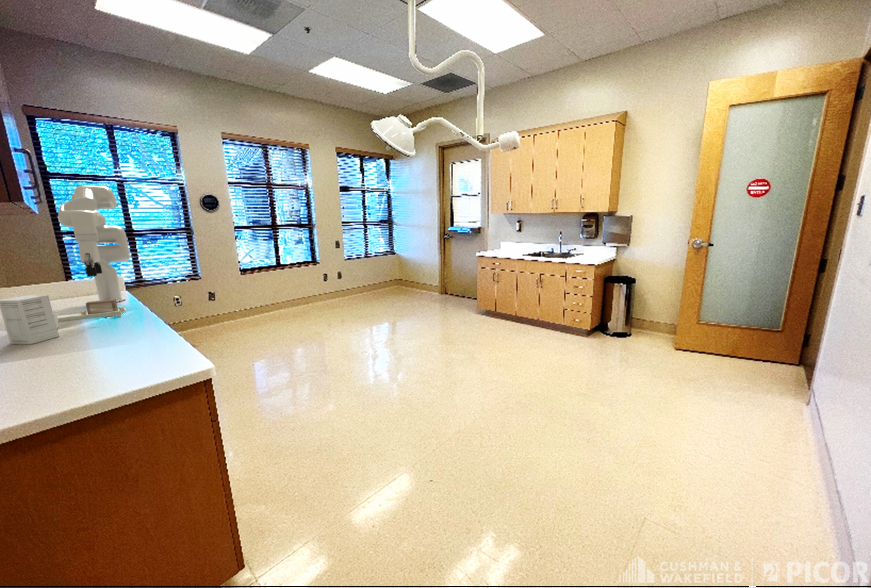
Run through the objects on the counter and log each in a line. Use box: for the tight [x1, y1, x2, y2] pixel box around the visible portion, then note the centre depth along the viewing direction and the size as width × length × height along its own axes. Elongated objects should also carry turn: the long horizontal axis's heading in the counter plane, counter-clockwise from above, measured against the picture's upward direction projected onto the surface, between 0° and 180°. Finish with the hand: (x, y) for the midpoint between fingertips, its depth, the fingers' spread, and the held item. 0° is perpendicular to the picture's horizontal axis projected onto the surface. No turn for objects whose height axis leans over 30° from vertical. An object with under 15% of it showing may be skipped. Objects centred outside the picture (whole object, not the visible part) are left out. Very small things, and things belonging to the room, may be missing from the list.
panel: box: [58, 306, 127, 323], centre depth 164 cm, size 14×27×3 cm, turn 123°
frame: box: [85, 299, 119, 314], centre depth 167 cm, size 4×10×6 cm, turn 123°
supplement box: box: [0, 294, 60, 345], centre depth 132 cm, size 10×9×17 cm
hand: (95, 274), depth 164 cm, fingers open, 9 cm apart
